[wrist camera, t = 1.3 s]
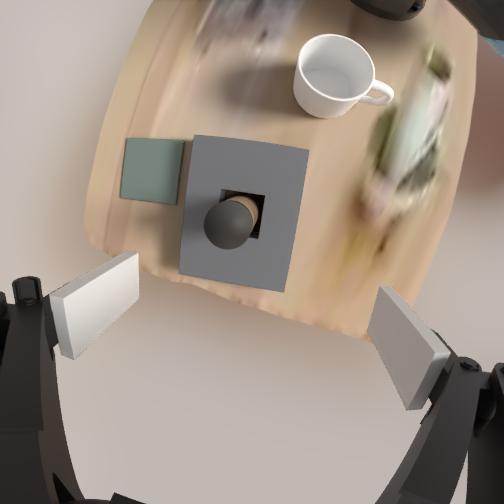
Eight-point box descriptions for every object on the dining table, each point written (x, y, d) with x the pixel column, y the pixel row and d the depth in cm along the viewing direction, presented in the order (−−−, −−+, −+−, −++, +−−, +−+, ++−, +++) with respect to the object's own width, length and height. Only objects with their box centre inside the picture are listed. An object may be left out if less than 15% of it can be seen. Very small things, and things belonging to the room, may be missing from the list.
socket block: (202, 138, 37) (194, 134, 33) (306, 152, 36) (309, 149, 32) (187, 265, 41) (178, 273, 38) (283, 281, 41) (283, 292, 37)
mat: (128, 138, 37) (127, 137, 37) (184, 140, 37) (183, 140, 37) (121, 197, 40) (120, 197, 39) (176, 204, 39) (175, 204, 39)
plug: (229, 191, 38) (206, 198, 26) (262, 196, 38) (254, 205, 26) (225, 223, 40) (201, 245, 27) (257, 229, 39) (247, 253, 27)
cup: (299, 59, 33) (305, 25, 23) (381, 84, 33) (409, 60, 23) (286, 110, 35) (290, 88, 25) (371, 135, 35) (400, 124, 25)
